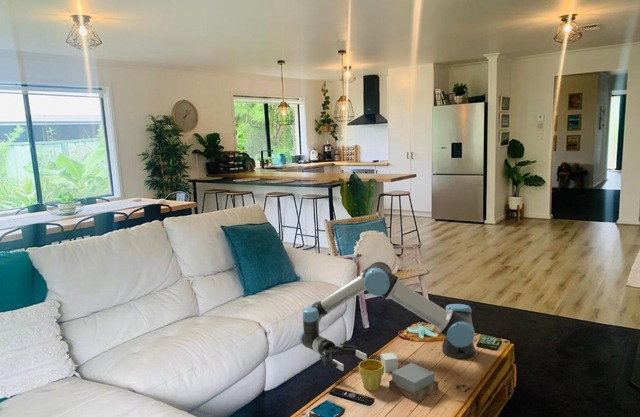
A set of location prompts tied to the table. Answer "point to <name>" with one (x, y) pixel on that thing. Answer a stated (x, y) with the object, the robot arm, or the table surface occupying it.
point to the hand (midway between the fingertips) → (355, 362)
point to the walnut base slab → (411, 395)
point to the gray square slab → (413, 377)
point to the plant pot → (371, 373)
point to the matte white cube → (389, 362)
